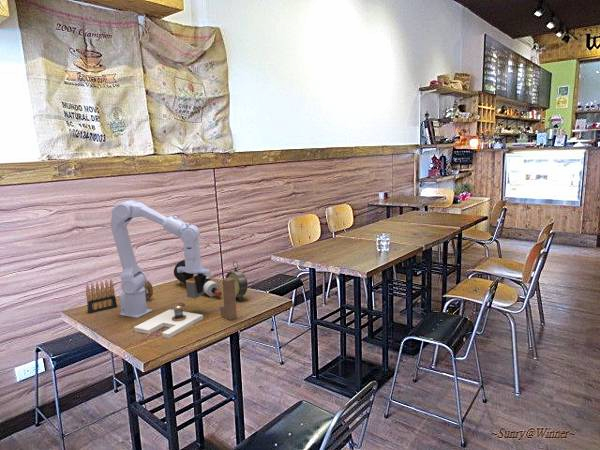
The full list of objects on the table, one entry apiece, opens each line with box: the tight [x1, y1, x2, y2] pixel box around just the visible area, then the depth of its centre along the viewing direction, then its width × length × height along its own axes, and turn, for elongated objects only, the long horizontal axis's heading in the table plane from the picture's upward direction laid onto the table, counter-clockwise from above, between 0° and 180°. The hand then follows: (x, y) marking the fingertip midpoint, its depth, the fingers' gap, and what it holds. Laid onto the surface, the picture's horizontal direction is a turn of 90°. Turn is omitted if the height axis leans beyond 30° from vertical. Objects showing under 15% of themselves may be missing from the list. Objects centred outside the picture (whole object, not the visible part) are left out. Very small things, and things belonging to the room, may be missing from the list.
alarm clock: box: [225, 260, 248, 302], centre depth 180 cm, size 11×5×16 cm, turn 42°
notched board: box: [133, 308, 204, 339], centre depth 156 cm, size 16×18×2 cm
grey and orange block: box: [185, 277, 205, 299], centre depth 165 cm, size 4×5×7 cm
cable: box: [173, 259, 223, 297], centre depth 193 cm, size 10×34×10 cm, turn 37°
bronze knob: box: [170, 302, 186, 321], centre depth 157 cm, size 5×5×5 cm
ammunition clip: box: [85, 278, 118, 315], centre depth 173 cm, size 11×2×12 cm, turn 128°
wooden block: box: [219, 277, 238, 321], centre depth 160 cm, size 7×3×15 cm, turn 40°
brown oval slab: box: [144, 280, 154, 300], centre depth 186 cm, size 15×3×8 cm, turn 59°
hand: (195, 291), depth 165 cm, fingers closed on grey and orange block, 4 cm apart
